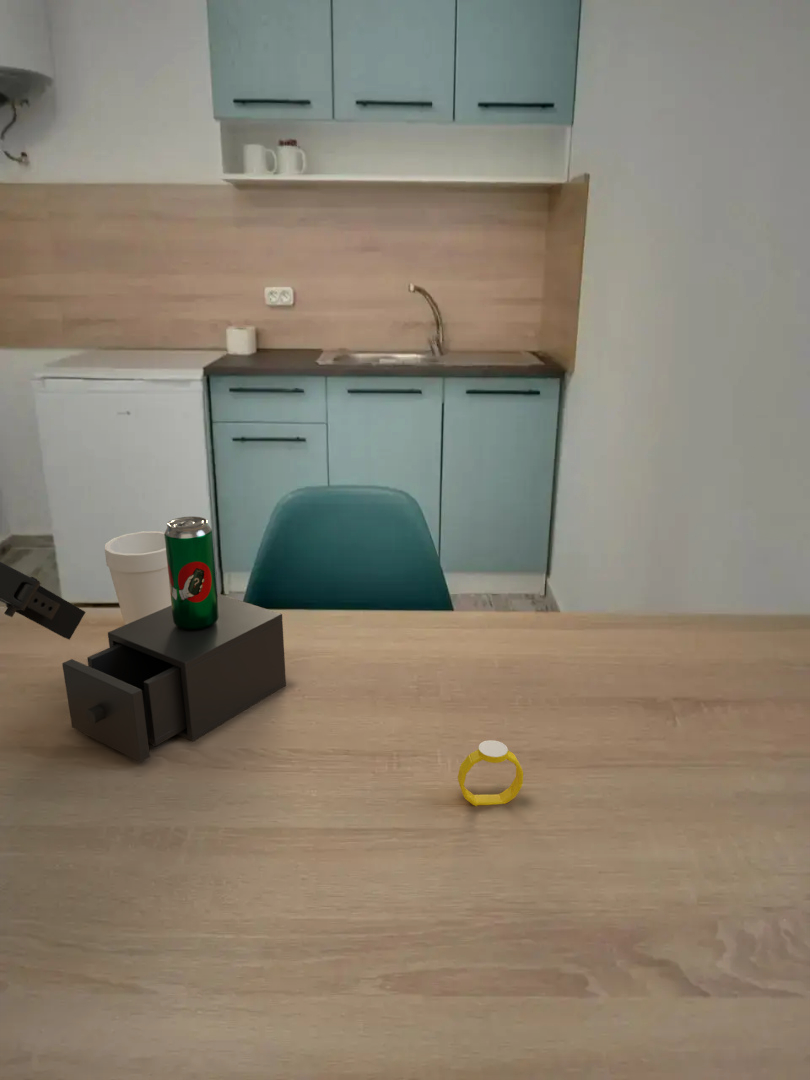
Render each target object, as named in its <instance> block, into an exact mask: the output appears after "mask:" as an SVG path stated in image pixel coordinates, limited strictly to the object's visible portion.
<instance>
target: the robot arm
mask: <svg viewBox="0 0 810 1080" xmlns="http://www.w3.org/2000/svg"><path fill="white" fill-rule="evenodd" d="M0 602H1V603H3V604H5V606H6V609H5V611H4V614H5V616H8V617H9V618H13V617H14V615H15V614H16V613H17V614H19V615H21V616H23V617H25V618H27V619H28V620H30V621H32V622H34V623H35V624H37V625H40V626H42V627H43V628H45V629H47V630H49V631H51V632H53V633H54V634H56V635H58V636H60V637H62V638H64V639H66V640H69V641H70V640H71V638H72V637H73V635H74V633H75V631H76V629H77V628H78V626H79V625H80V623H81V621H82V620H83V618H84V616H85V614H86V612H87V611H85V610H83V609H81V608H80V607H78V606H76V605H74V604H73V603H71V602H70V601H68V600H66V599H64V598H63V597H60V596H58V595H57V594H56V593H54V592H52V591H50V590H49V589H47V588H45V587H43V586H42V583H41V582H40V580H38V578H35V577H34V576H29V575H27V574H25V573H23V572H22V571H19V570H17V569H15V568H13V567H12V566H10V565H7V564H6V563H4V562H1V561H0Z"/></svg>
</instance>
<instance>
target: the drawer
mask: <svg viewBox="0 0 810 1080" xmlns="http://www.w3.org/2000/svg"><path fill="white" fill-rule="evenodd" d="M86 660H87V664H84V663H82V662H80V661H77V660H76V659H73V658H71V659H68V660H66V661H64V662H62V665H61V666H62V670H63V678H64V684H65V691H66V697H67V703H68V709H69V716H70V723H71V727H72V728H73V729H74V730H76V731H79V732H81V733H82V734H84V735H86V736H88V737H89V738H92V739H94V740H96V741H98V742H100V743H102V744H103V745H105V746H107V747H109V748H112V749H113V750H115V751H118V752H119V753H121V754H123V755H125V756H127V757H128V758H131V759H133V760H135V761H137V762H139V763H142V762H144V761H146V760H148V759H149V758H150V757H151V753H150V747H149V744H150V745H152V746H153V747H154V746H155V747H157V746H159V745H160V744H162V743H164V742H165V741H168V740H169V739H170V738H172V737H174V736H176V735H177V733H179V732H181V731H183V730H184V729H186V728H187V725H186V716H185V706H184V696H183V686H182V677H181V668H180V667H177V666H175V665H173V664H170V663H168V662H165V661H163V660H160V659H158V658H155V657H153V656H150V655H148V654H145V653H143V652H140V651H138V650H135V649H133V648H130V647H128V646H125V645H123V644H120V643H119V644H116V645H114V646H112V647H107V648H105V649H102V650H101V651H98V652H96V653H94V654H92V655H90V656H87V659H86Z"/></svg>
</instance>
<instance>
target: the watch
mask: <svg viewBox="0 0 810 1080" xmlns="http://www.w3.org/2000/svg"><path fill="white" fill-rule="evenodd" d="M506 760H507V761H509V762H511V763H512V764H514V766H515V777H514V779H513V781H512V782H511V783H510V786H509V787H508V788H506V789H505V790H504V791H503V790H502V792H500V793H498V794H473V793H472V792H471V791H470V790H468V789H467V788H466V787H465V782H466V777H467V774H468V773H469V772H470V770H471V769H472V768H473V766H474V765H476V764H478V763H479V762H482V761H484V762H487V763H491V764H499V763H502V762H505V761H506ZM458 768H459V769H458V773H457V781H458V784H459V788H460V790H461V794H462V795H463V798H464V799H465V800H466V801H467V802H469V803H470V804H471V805H472V806H475V807H478V806H494V805H495V806H496V805H505V804H507V803H509V802H511V801H512V800H514V799H515V798H516V797H517V796H518V794H519V792H520V790H521V789H522V787H523V784H524V771H523V768H522V766H521V763H520V762H519V760H518V758H517V757H516V755H515V754H514V753H513V752H512V751H510V750H509V748H508V747H507V745H506V744H505V743H503V742H502V741H498V740H495V739H494V740H491V739H489V740H484V741H482V742H480V743H479V745H478V747H477V749H476V750H474V751H472V752H470V753H469V754H468V755H467V756H466V757H465V759H463V761H462V762H461V764H460V766H459V767H458Z"/></svg>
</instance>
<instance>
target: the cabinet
mask: <svg viewBox="0 0 810 1080" xmlns="http://www.w3.org/2000/svg"><path fill="white" fill-rule="evenodd" d="M217 596H218V608H219V618H218V620H217V621H216V622H215V624H214V625H212V626H211V627H209V628H206V629H202V630H196V631H189V630H183V629H181V628H179V627H178V626H177V625H176V624H174V622H173V615H172V605H171V606H169V607H166V608H164V609H162V610H159V611H157V612H155V613H152V614H150V615H148V616H145V617H143V618H140V619H138V620H136V621H133V622H131V623H129V624H126V625H125V624H124V625H122V626H120V627H117V628H115V629H113V630H110V631H107V638H108V648H110V647H112V646H114V645H116V644H119V643H120V644H123V645H125V646H128V647H130V648H133V649H135V650H138V651H140V652H143V653H145V654H148V655H150V656H153V657H155V658H158V659H160V660H163V661H165V662H168V663H170V664H173V665H175V666H177V667H180V668H181V677H182V686H183V696H184V706H185V716H186V725H187V728H186V729H184V730H183V731H181V732H179V733H177V734H176V735H177V736H178V737H181V738H183V739H185V740H187V741H189V742H192V743H193V742H196V741H197V740H199V739H200V738H202V737H203V736H205V735H207V734H208V733H210V732H212V731H214V730H216V729H217V728H218V727H220V726H222V725H224V724H226V723H227V722H228V721H230V720H232V719H234V718H235V717H237V716H238V715H241V714H242V713H243V712H245V711H247V710H248V709H250V708H252V707H253V706H255V705H256V704H258V703H260V702H261V701H263V700H265V699H266V698H268V697H270V696H271V695H273V694H275V693H276V692H278V691H280V690H281V689H283V688H285V687H286V686H287V679H286V678H287V676H286V660H285V659H286V657H285V643H284V642H285V641H284V626H283V625H284V624H283V613H280V612H277V611H274V610H271V609H267V608H265V607H261V606H258V605H255V604H253V603H248V602H246V601H242V600H239V599H236V598H234V597H229V596H227V595H224V594H221V593H218V592H217Z"/></svg>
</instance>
